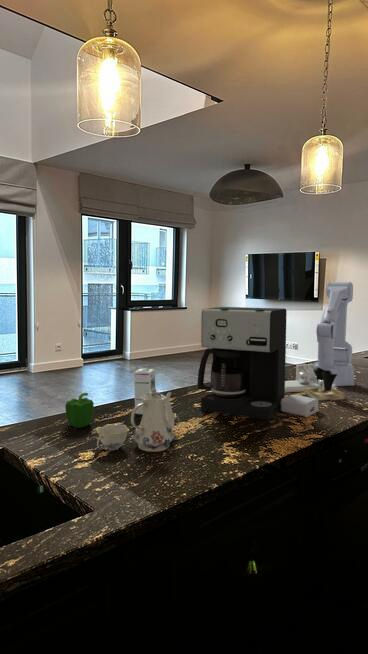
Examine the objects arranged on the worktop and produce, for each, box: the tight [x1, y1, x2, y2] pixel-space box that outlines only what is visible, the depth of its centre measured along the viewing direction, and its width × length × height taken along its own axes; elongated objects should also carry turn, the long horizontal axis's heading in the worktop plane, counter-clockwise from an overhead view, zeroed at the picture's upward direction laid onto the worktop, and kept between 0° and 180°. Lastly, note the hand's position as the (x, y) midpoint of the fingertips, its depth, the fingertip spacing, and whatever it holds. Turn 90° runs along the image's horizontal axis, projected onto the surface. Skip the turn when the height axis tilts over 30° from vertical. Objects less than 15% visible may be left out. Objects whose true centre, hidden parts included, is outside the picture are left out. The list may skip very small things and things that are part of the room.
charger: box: [280, 394, 319, 418], centre depth 154 cm, size 5×9×15 cm
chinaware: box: [95, 386, 181, 453], centre depth 122 cm, size 28×17×17 cm, turn 141°
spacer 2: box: [318, 379, 330, 393], centre depth 173 cm, size 4×4×4 cm
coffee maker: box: [197, 306, 287, 421], centre depth 157 cm, size 28×20×35 cm
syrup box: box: [133, 367, 156, 415], centre depth 152 cm, size 6×6×14 cm
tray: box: [304, 388, 346, 401], centre depth 174 cm, size 11×11×2 cm
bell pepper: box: [64, 392, 95, 429], centre depth 137 cm, size 8×8×10 cm
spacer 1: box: [298, 372, 310, 385], centre depth 186 cm, size 4×4×4 cm
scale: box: [285, 363, 336, 393], centre depth 188 cm, size 22×13×8 cm, turn 100°
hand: (324, 389), depth 174 cm, fingers closed on spacer 2, 4 cm apart
